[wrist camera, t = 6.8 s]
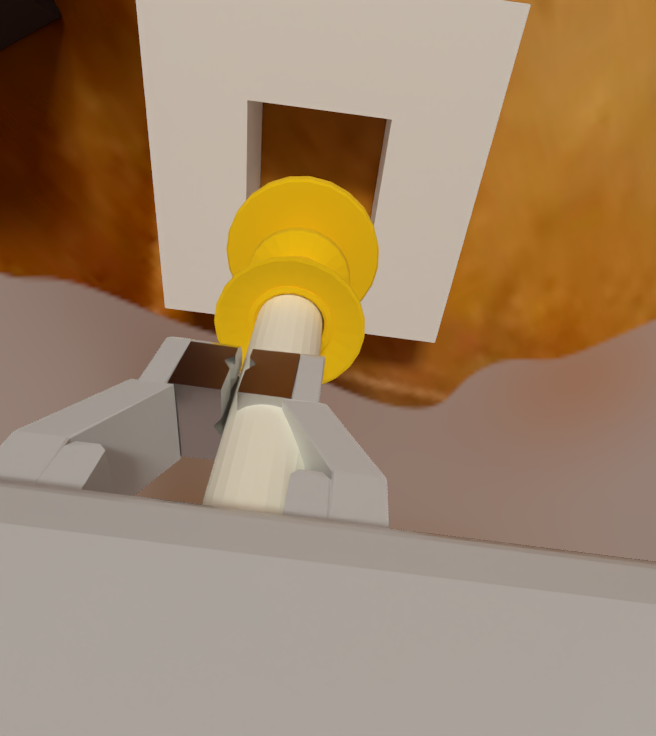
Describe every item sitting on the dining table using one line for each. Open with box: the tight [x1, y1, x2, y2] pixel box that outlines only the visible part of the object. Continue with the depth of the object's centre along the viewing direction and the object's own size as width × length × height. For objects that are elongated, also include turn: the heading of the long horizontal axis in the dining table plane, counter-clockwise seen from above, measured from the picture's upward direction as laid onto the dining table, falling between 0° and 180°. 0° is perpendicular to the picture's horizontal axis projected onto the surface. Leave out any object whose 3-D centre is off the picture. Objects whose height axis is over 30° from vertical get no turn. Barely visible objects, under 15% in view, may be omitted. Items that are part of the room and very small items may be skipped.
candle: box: [202, 176, 379, 515], centre depth 10 cm, size 5×5×16 cm
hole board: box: [136, 0, 531, 343], centre depth 25 cm, size 16×16×4 cm
